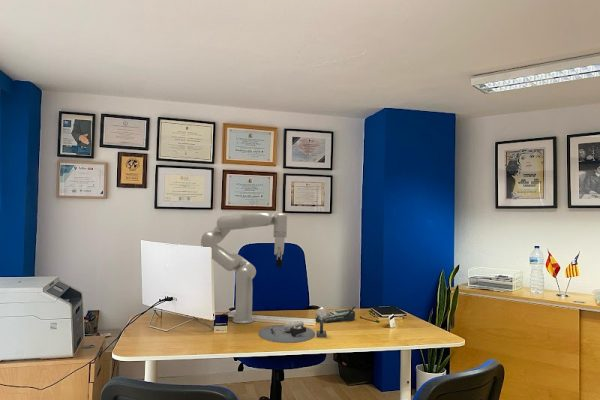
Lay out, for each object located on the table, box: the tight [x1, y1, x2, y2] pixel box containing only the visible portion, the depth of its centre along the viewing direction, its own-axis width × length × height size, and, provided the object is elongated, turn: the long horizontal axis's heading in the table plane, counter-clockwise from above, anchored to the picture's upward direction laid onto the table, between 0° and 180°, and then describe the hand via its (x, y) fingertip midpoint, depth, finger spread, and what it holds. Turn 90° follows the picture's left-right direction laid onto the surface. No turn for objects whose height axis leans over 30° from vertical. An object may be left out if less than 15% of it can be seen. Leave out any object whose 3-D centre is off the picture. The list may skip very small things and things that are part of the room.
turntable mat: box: [257, 324, 316, 344], centre depth 212 cm, size 30×30×1 cm
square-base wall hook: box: [315, 307, 329, 339], centre depth 209 cm, size 6×5×15 cm
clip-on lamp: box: [270, 320, 307, 337], centre depth 211 cm, size 12×6×18 cm
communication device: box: [315, 305, 356, 324], centre depth 240 cm, size 12×24×9 cm, turn 111°
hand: (279, 266), depth 232 cm, fingers closed
